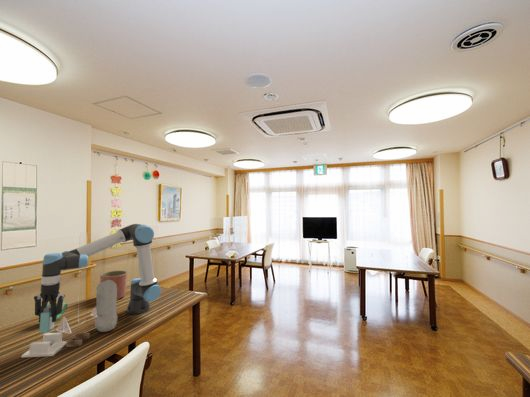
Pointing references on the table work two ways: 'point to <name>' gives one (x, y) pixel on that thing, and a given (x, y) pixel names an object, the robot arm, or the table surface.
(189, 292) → the table surface
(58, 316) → the mug
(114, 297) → the sculpture
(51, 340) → the port
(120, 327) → the table surface
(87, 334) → the holster
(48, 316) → the plug
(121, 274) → the planter
